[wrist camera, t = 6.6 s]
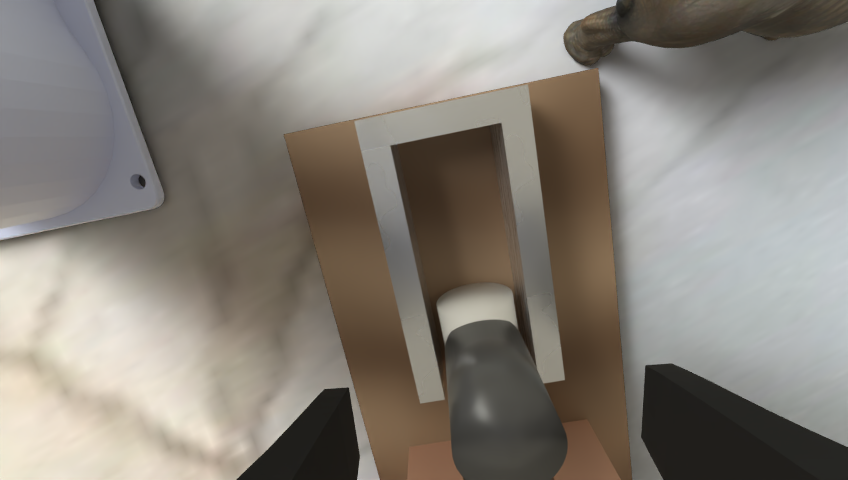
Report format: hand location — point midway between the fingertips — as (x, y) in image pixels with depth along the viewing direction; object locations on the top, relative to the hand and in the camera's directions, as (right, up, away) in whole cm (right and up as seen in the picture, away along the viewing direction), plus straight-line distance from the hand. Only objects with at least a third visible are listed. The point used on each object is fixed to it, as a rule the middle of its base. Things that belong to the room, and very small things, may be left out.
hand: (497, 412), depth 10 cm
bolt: (+1, -2, +5) cm, 5 cm away
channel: (0, +4, +4) cm, 6 cm away
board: (0, 0, +6) cm, 6 cm away
